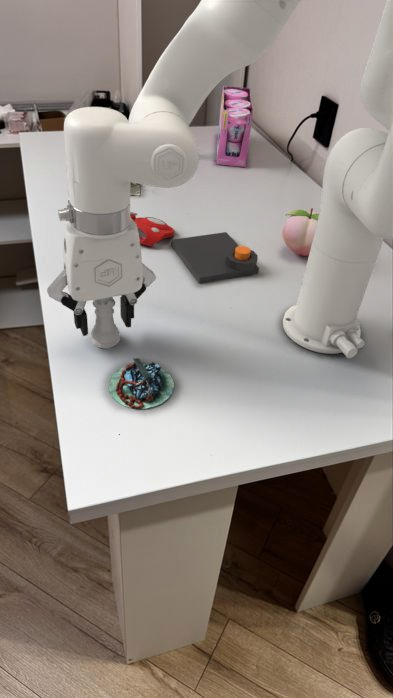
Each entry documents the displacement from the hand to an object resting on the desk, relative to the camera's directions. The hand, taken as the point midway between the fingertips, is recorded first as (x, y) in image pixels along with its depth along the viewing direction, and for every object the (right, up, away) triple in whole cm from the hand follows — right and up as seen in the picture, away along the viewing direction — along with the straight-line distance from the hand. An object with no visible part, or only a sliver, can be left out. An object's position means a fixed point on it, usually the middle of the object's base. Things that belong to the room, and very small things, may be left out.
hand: (104, 325), depth 79 cm
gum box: (+23, +51, +67) cm, 87 cm away
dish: (+6, -9, -5) cm, 12 cm away
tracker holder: (+3, +20, +28) cm, 35 cm away
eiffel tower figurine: (-7, +34, +44) cm, 56 cm away
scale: (+17, +14, +23) cm, 31 cm away
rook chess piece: (0, -2, +2) cm, 3 cm away
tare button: (+22, +13, +19) cm, 32 cm away
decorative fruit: (+35, +15, +27) cm, 46 cm away
